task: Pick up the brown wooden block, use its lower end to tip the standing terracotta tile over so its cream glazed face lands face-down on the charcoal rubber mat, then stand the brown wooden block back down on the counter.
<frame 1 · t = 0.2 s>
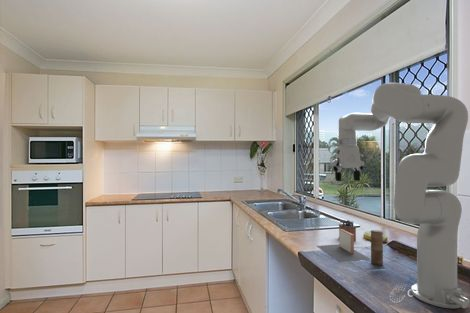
hand: (347, 180, 123), 31 cm above the worktop, tool pointing down, fingers open, 9 cm apart
mat: (341, 253, 116), on the worktop
brown wooden block: (376, 265, 103), on the worktop
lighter: (347, 240, 134), on the worktop
tile: (346, 249, 118), point 1 cm above the worktop, touching mat
decorated donut: (375, 240, 134), on the worktop
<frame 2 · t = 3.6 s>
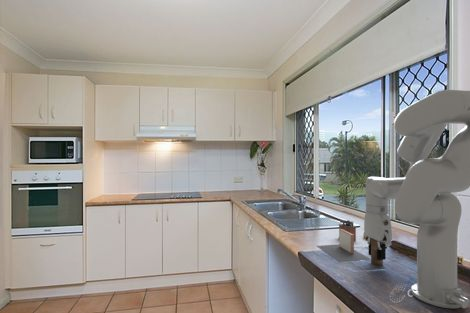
hand: (376, 256, 103), 3 cm above the worktop, tool pointing down, fingers closed on brown wooden block, 4 cm apart
brown wooden block: (376, 265, 103), on the worktop, touching gripper
everything else where it was.
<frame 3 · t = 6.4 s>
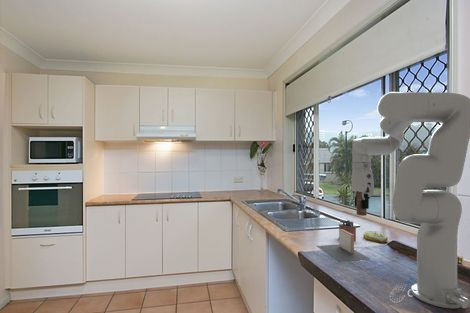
hand: (361, 207, 120), 19 cm above the worktop, tool pointing down, fingers closed on brown wooden block, 4 cm apart
brown wooden block: (361, 214, 120), point 16 cm above the worktop, touching gripper
everything else where it was.
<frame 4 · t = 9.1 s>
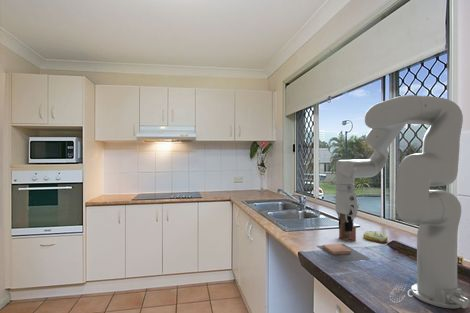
hand: (345, 229, 118), 10 cm above the worktop, tool pointing down, fingers closed on brown wooden block, 4 cm apart
brown wooden block: (345, 236, 118), point 6 cm above the worktop, touching gripper
tile: (344, 248, 118), point 1 cm above the worktop, tilted 90°, touching mat
everything else where it was.
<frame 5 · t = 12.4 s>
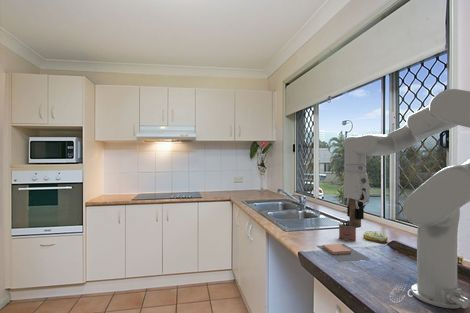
hand: (355, 217, 101), 19 cm above the worktop, tool pointing down, fingers closed on brown wooden block, 4 cm apart
brown wooden block: (355, 225, 101), point 16 cm above the worktop, touching gripper
everything else where it was.
when the fingers open (5 cm above the worktop, at t = 15.2 s): brown wooden block drops 2 cm, on the worktop.
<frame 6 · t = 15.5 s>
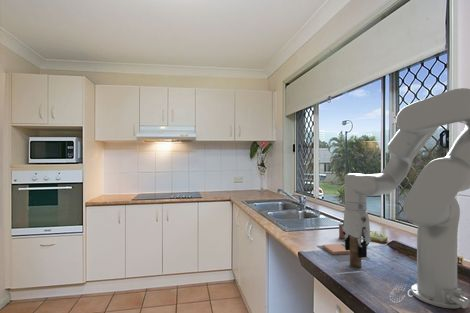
hand: (355, 253, 101), 5 cm above the worktop, tool pointing down, fingers open, 7 cm apart
brown wooden block: (355, 267, 101), on the worktop
everything else where it was.
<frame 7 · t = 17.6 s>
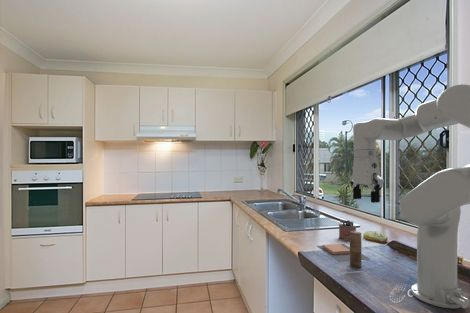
hand: (365, 200, 101), 25 cm above the worktop, tool pointing down, fingers open, 9 cm apart
nothing on the worktop moved.
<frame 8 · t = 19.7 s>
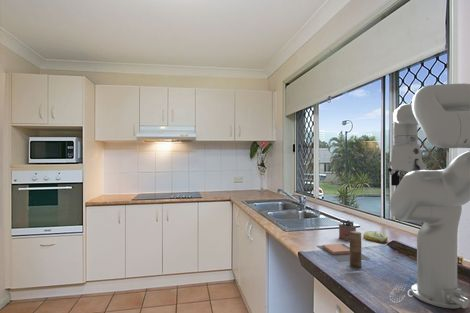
hand: (405, 186, 101), 30 cm above the worktop, tool pointing down, fingers open, 9 cm apart
nothing on the worktop moved.
at the end: tile tilted 90°; tile inside the target area (1.8 cm from its centre), point 1.3 cm above the worktop; brown wooden block inside the target area (0.1 cm from its centre), on the worktop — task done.
